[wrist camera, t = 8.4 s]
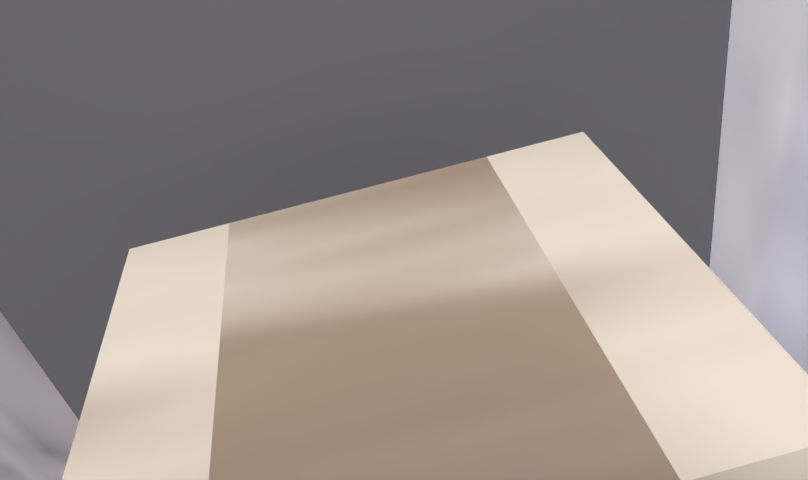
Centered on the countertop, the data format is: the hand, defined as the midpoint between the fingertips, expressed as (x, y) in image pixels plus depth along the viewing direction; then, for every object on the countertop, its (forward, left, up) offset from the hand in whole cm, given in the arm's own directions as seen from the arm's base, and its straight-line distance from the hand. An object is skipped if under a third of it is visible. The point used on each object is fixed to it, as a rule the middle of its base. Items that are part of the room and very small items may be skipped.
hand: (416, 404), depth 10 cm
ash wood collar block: (0, 0, -1) cm, 1 cm away
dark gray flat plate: (0, 0, -3) cm, 3 cm away
